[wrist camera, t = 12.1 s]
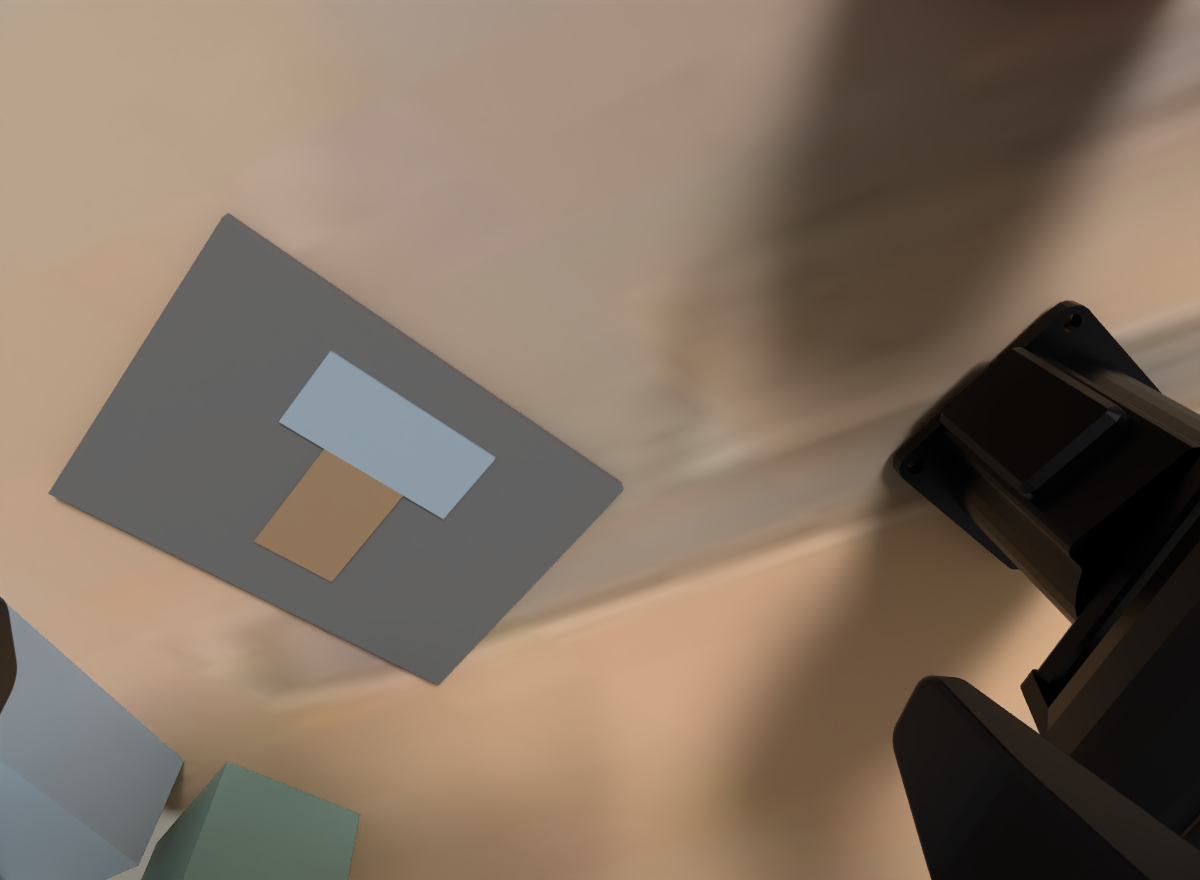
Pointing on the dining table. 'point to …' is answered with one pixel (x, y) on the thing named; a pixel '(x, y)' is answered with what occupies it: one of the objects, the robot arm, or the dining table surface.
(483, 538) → the card
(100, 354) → the dining table surface
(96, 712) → the blue base block
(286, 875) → the teal cube
